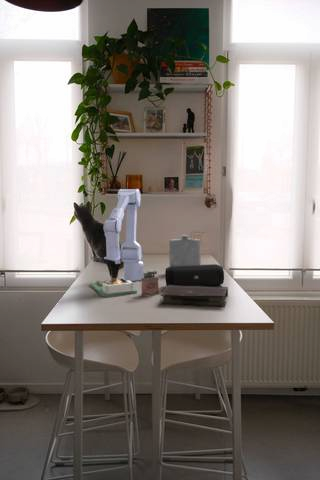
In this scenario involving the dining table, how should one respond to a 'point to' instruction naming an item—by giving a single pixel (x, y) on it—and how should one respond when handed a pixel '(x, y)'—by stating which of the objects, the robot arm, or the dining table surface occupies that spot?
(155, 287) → the lighter
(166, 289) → the diary
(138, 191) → the robot arm
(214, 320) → the dining table surface
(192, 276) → the portable speaker
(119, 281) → the beige block
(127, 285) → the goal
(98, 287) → the pitch
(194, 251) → the hip flask
